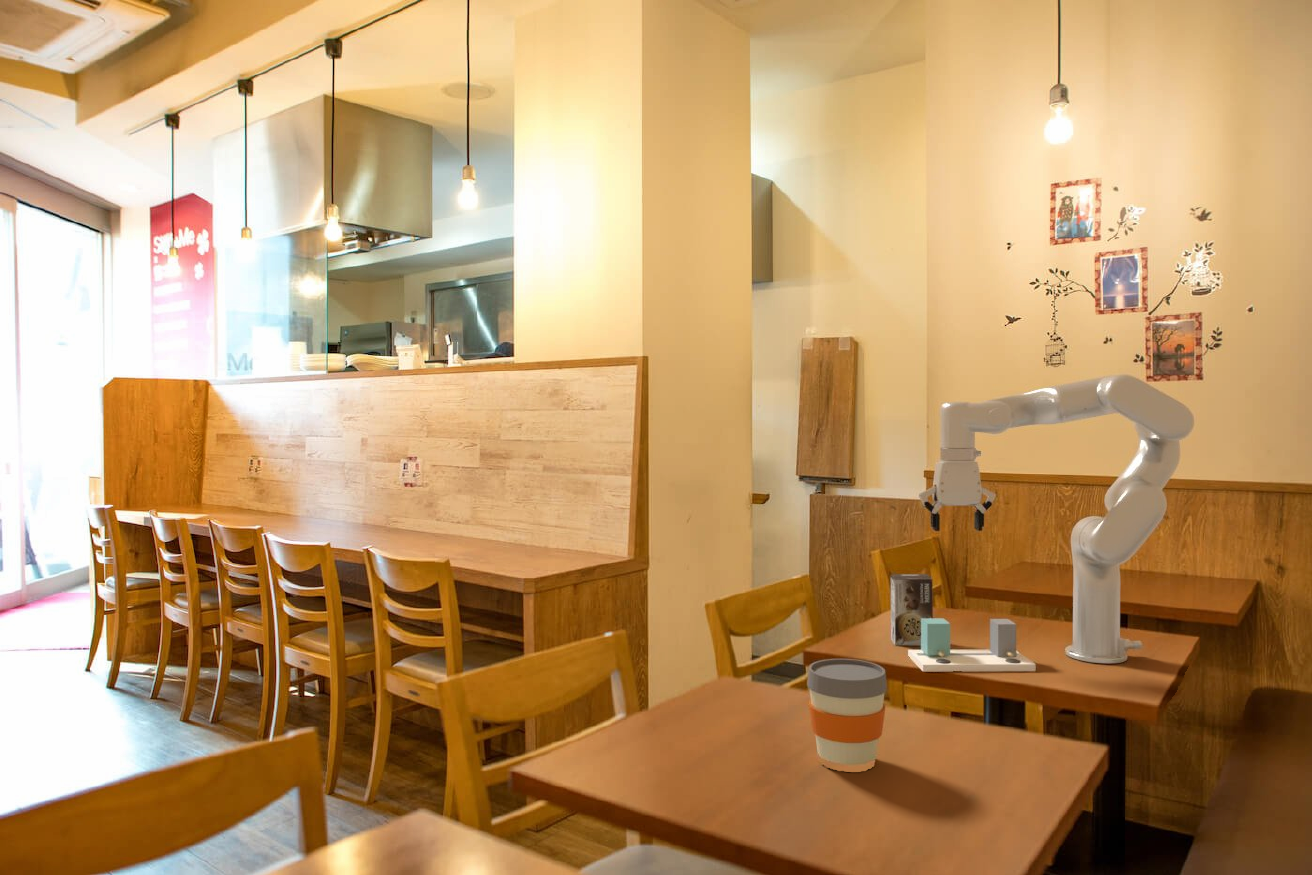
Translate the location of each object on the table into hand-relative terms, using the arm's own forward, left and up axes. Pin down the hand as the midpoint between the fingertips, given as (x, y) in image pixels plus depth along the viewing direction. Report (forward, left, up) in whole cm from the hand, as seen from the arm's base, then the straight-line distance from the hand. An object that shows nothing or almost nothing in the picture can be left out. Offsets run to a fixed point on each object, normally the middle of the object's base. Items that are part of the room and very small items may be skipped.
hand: (957, 530), depth 208 cm
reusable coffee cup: (+38, +64, -28) cm, 80 cm away
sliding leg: (+7, +8, -26) cm, 28 cm away
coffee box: (+8, -9, -28) cm, 31 cm away
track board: (0, +9, -28) cm, 30 cm away
